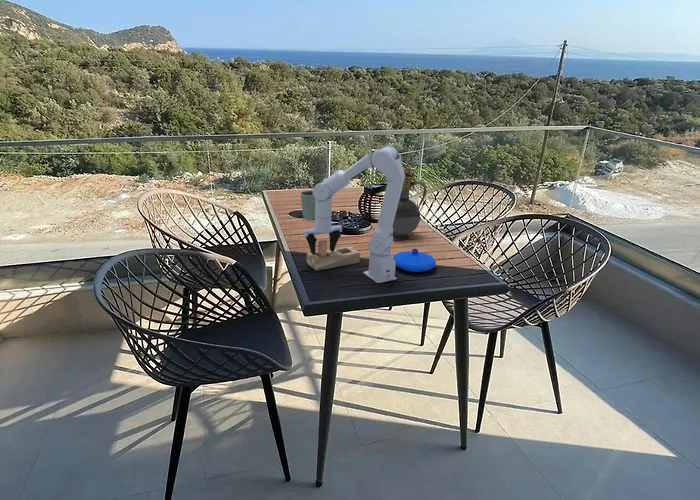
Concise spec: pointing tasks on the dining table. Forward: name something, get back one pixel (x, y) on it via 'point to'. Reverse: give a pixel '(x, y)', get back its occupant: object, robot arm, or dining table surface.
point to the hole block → (334, 258)
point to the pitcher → (407, 208)
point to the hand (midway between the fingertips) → (322, 252)
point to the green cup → (308, 204)
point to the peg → (322, 248)
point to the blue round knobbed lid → (414, 261)
